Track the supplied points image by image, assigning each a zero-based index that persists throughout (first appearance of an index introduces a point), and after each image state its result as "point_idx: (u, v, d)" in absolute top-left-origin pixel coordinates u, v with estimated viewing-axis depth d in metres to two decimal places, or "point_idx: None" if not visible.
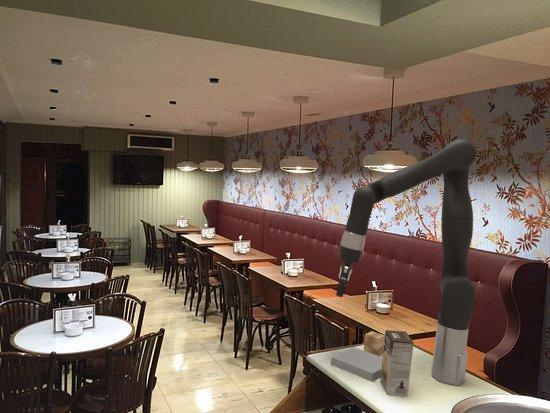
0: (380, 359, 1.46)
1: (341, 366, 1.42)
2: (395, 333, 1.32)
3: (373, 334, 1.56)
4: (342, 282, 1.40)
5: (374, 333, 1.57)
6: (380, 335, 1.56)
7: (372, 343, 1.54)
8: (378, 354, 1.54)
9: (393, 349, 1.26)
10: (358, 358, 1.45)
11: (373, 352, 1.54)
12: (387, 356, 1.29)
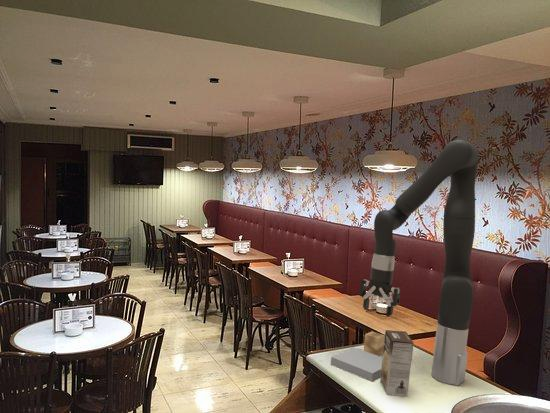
0: (380, 359, 1.46)
1: (341, 366, 1.42)
2: (395, 333, 1.32)
3: (373, 334, 1.56)
4: (397, 303, 1.51)
5: (374, 333, 1.57)
6: (380, 335, 1.56)
7: (372, 343, 1.54)
8: (378, 354, 1.54)
9: (393, 349, 1.26)
10: (358, 358, 1.45)
11: (373, 352, 1.54)
12: (387, 356, 1.29)
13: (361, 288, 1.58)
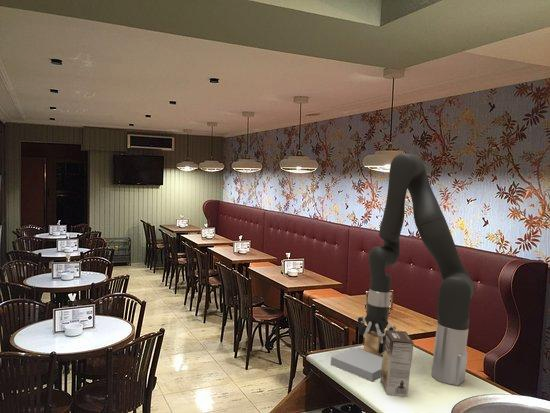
0: (380, 359, 1.46)
1: (341, 366, 1.42)
2: (395, 333, 1.32)
3: (373, 334, 1.56)
4: None
5: (374, 333, 1.57)
6: None
7: (372, 343, 1.54)
8: (378, 354, 1.54)
9: (393, 349, 1.26)
10: (358, 358, 1.45)
11: (373, 352, 1.54)
12: (387, 356, 1.29)
13: (359, 326, 1.59)
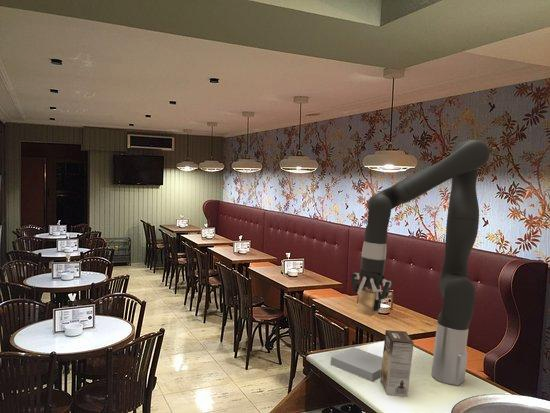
0: (380, 359, 1.46)
1: (341, 366, 1.42)
2: (395, 333, 1.32)
3: (368, 291, 1.43)
4: (385, 296, 1.40)
5: (369, 290, 1.45)
6: None
7: (367, 300, 1.41)
8: (373, 312, 1.41)
9: (393, 349, 1.26)
10: (358, 358, 1.45)
11: (367, 309, 1.41)
12: (387, 356, 1.29)
13: (353, 283, 1.46)
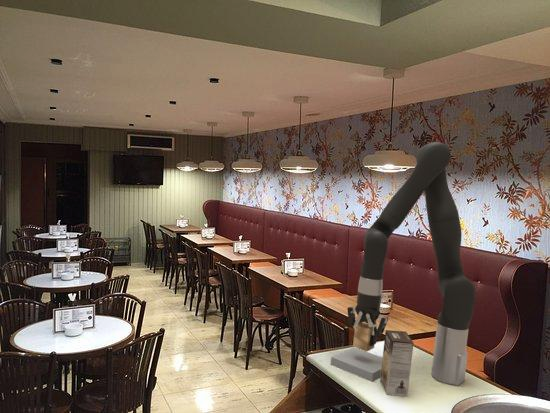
0: (380, 359, 1.46)
1: (341, 366, 1.42)
2: (395, 333, 1.32)
3: (364, 325, 1.44)
4: (381, 332, 1.40)
5: (365, 324, 1.45)
6: None
7: (362, 335, 1.42)
8: (369, 347, 1.42)
9: (393, 349, 1.26)
10: (358, 358, 1.45)
11: (363, 345, 1.41)
12: (387, 356, 1.29)
13: (349, 317, 1.46)
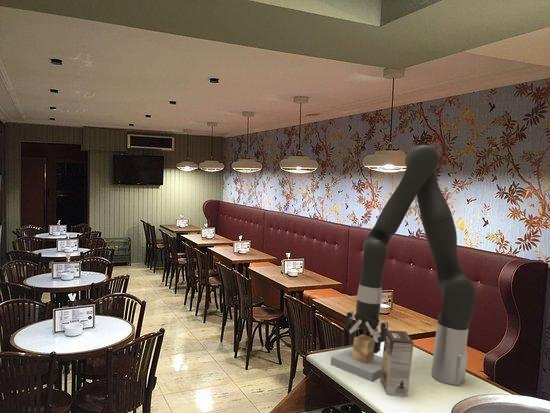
0: (380, 359, 1.46)
1: (341, 366, 1.42)
2: (395, 333, 1.32)
3: (363, 337, 1.44)
4: None
5: (364, 336, 1.45)
6: (370, 339, 1.44)
7: (362, 348, 1.42)
8: (368, 359, 1.42)
9: (393, 349, 1.26)
10: None
11: (362, 357, 1.42)
12: (387, 356, 1.29)
13: (347, 321, 1.47)
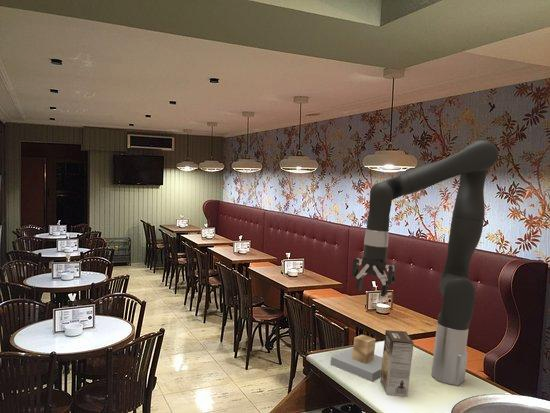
0: (380, 359, 1.46)
1: (341, 366, 1.42)
2: (395, 333, 1.32)
3: (363, 337, 1.44)
4: (392, 281, 1.40)
5: (364, 336, 1.45)
6: (370, 339, 1.44)
7: (362, 348, 1.42)
8: (368, 359, 1.42)
9: (393, 349, 1.26)
10: None
11: (362, 357, 1.42)
12: (387, 356, 1.29)
13: (354, 267, 1.48)
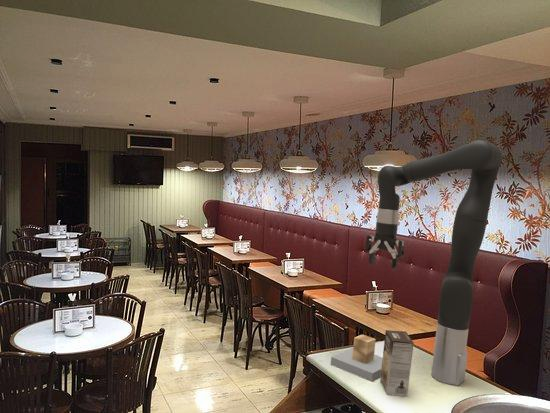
0: (380, 359, 1.46)
1: (341, 366, 1.42)
2: (395, 333, 1.32)
3: (363, 337, 1.44)
4: (402, 255, 1.56)
5: (364, 336, 1.45)
6: (370, 339, 1.44)
7: (362, 348, 1.42)
8: (368, 359, 1.42)
9: (393, 349, 1.26)
10: None
11: (362, 357, 1.42)
12: (387, 356, 1.29)
13: (367, 243, 1.64)
